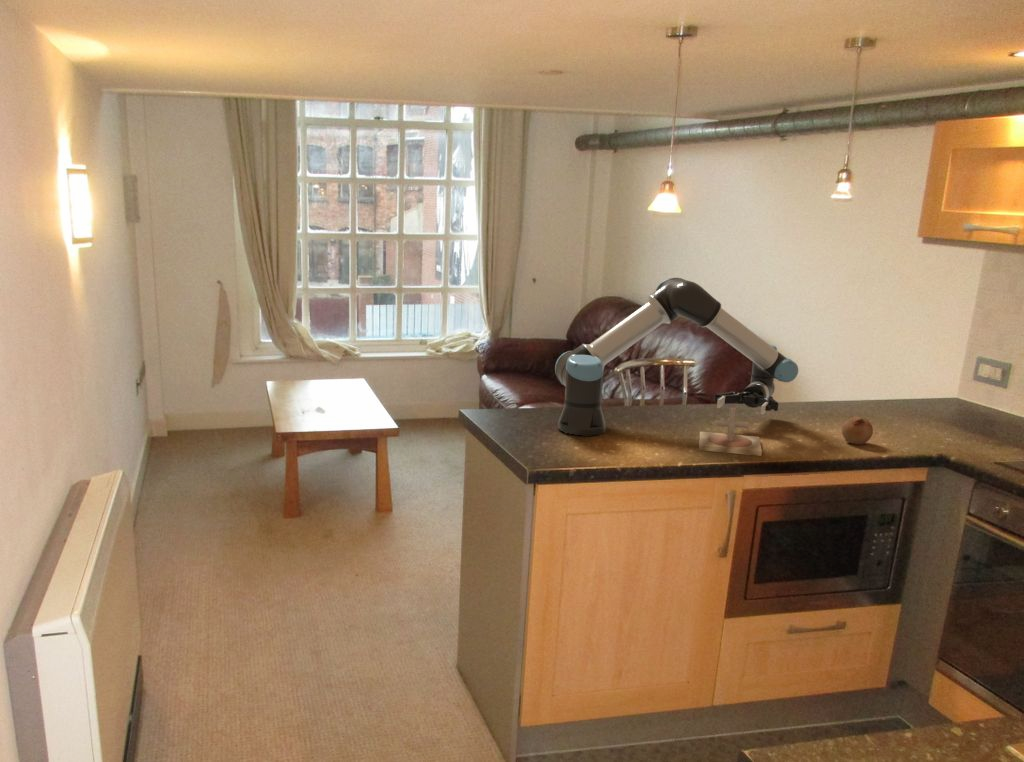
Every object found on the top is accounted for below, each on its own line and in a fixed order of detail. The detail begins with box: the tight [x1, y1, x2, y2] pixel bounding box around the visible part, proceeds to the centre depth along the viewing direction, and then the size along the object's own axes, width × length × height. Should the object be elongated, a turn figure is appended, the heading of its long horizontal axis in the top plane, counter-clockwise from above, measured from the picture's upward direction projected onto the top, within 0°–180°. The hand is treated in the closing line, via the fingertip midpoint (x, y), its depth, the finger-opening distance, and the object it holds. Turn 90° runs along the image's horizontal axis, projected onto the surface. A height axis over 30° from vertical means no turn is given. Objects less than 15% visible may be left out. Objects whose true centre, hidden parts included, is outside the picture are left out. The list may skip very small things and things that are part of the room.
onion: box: [841, 416, 874, 445], centre depth 256 cm, size 9×9×10 cm
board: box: [698, 431, 763, 457], centre depth 249 cm, size 18×16×2 cm
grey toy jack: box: [713, 407, 750, 441], centre depth 248 cm, size 10×10×10 cm
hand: (740, 407), depth 255 cm, fingers open, 13 cm apart
